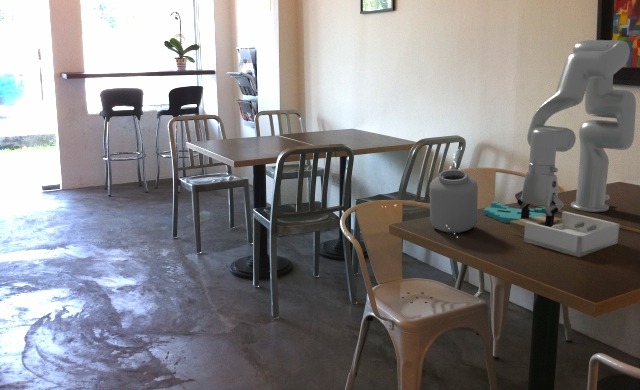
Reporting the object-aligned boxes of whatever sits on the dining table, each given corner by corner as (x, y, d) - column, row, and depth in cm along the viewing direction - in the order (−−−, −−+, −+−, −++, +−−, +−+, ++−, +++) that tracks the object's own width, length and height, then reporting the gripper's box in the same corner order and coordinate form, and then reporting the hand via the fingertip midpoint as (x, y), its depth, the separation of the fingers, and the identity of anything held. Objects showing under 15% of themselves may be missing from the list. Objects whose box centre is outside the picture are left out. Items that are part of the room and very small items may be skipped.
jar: (468, 241, 190) (473, 159, 184) (421, 235, 196) (423, 155, 190) (480, 224, 207) (484, 149, 201) (436, 220, 213) (438, 146, 207)
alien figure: (492, 207, 231) (478, 220, 214) (492, 201, 230) (478, 214, 213) (549, 213, 222) (540, 228, 205) (550, 207, 221) (540, 221, 204)
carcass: (562, 229, 201) (564, 211, 200) (617, 243, 187) (619, 223, 186) (523, 241, 189) (525, 222, 188) (579, 257, 176) (581, 236, 174)
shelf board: (546, 226, 206) (547, 214, 205) (560, 231, 201) (561, 219, 200) (509, 233, 199) (510, 221, 198) (523, 238, 194) (524, 225, 193)
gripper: (574, 172, 190) (568, 228, 194) (524, 164, 204) (520, 216, 208) (560, 175, 186) (554, 232, 190) (510, 166, 199) (506, 220, 203)
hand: (536, 223), depth 199 cm, fingers open, 8 cm apart
